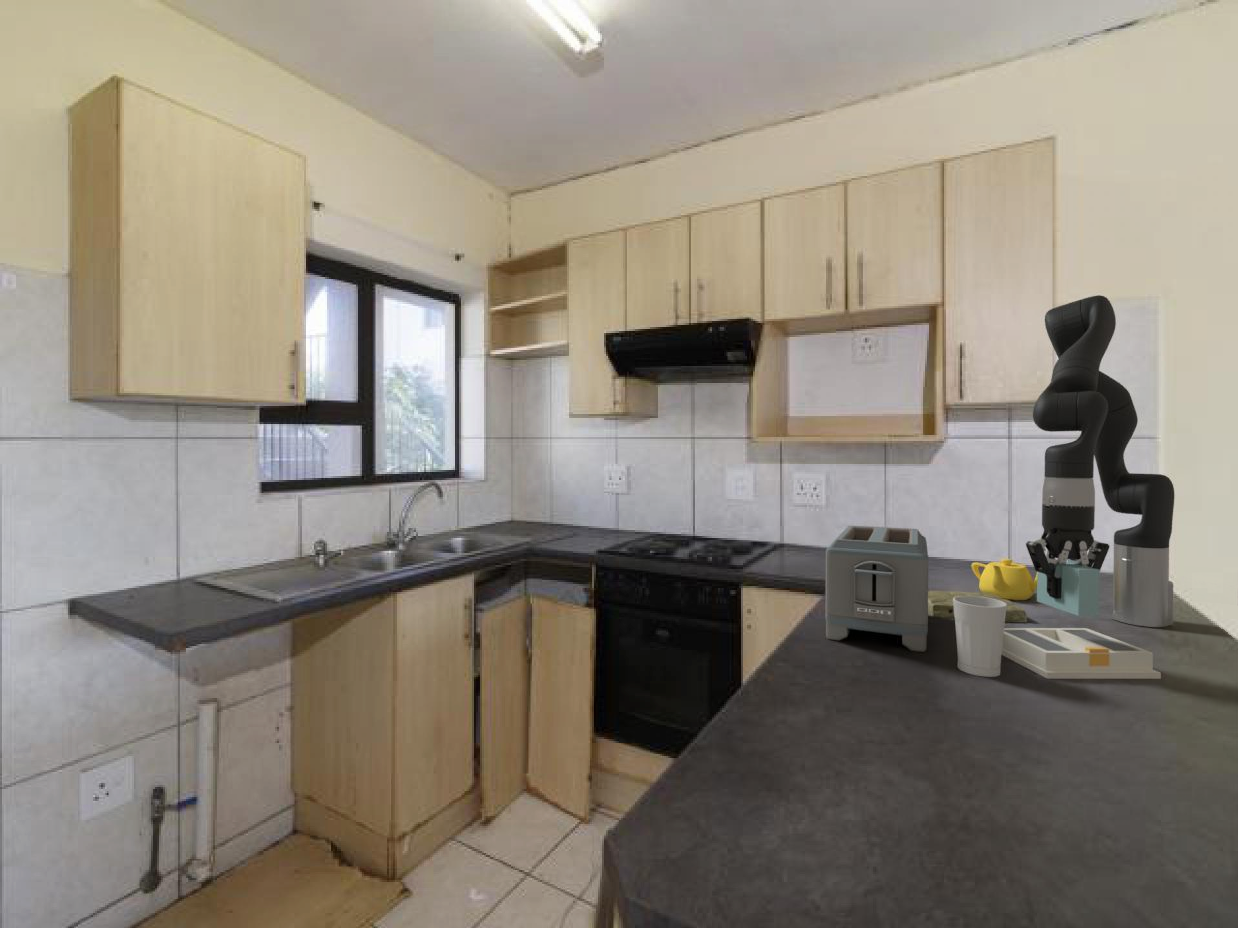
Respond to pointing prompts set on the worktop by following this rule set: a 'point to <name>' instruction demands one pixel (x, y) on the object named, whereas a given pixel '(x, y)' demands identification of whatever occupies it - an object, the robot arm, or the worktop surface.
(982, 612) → the cup
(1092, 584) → the panel
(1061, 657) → the tray
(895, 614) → the toaster
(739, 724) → the worktop surface
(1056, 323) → the robot arm
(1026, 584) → the teapot
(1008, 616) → the decorative tile
